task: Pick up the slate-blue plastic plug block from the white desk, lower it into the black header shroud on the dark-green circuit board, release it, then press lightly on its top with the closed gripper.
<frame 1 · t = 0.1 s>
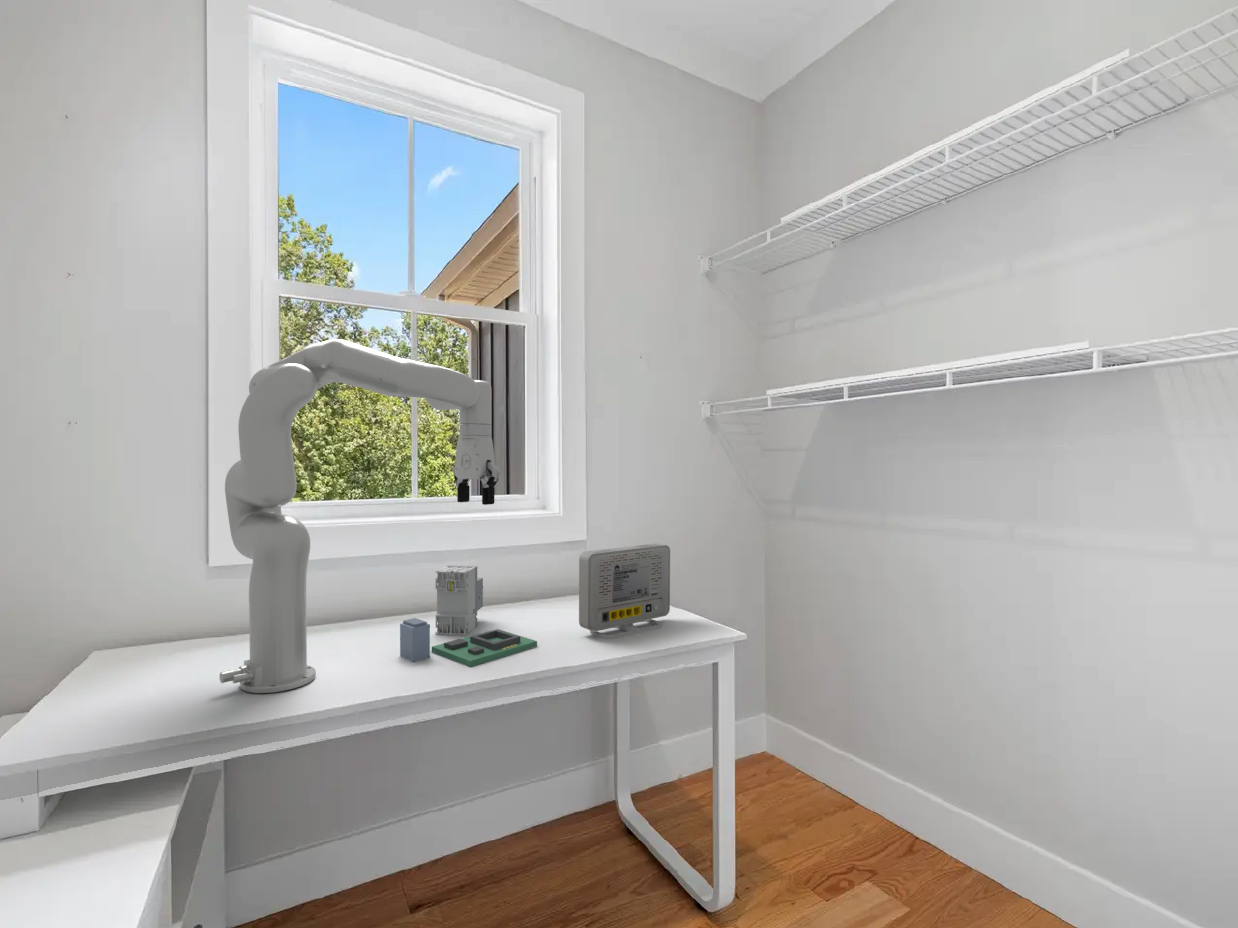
hand: (475, 503, 153), 31 cm above the table, fingers open, 9 cm apart
circuit breaker: (461, 627, 157), on the table
board: (485, 649, 140), on the table
plug: (415, 656, 135), on the table
network device: (626, 629, 156), on the table
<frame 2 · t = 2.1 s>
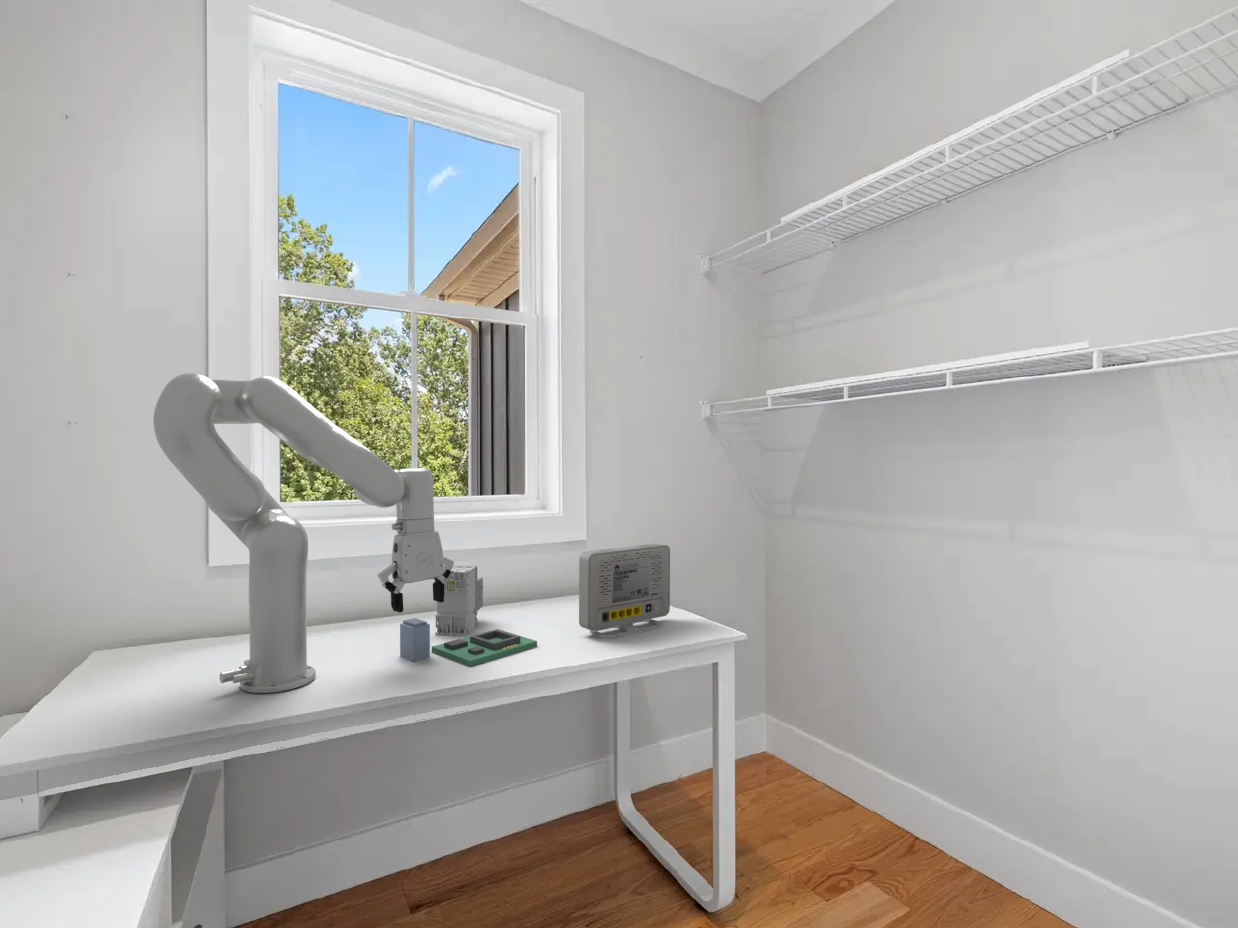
hand: (418, 606, 135), 11 cm above the table, fingers open, 9 cm apart
nothing on the table moved.
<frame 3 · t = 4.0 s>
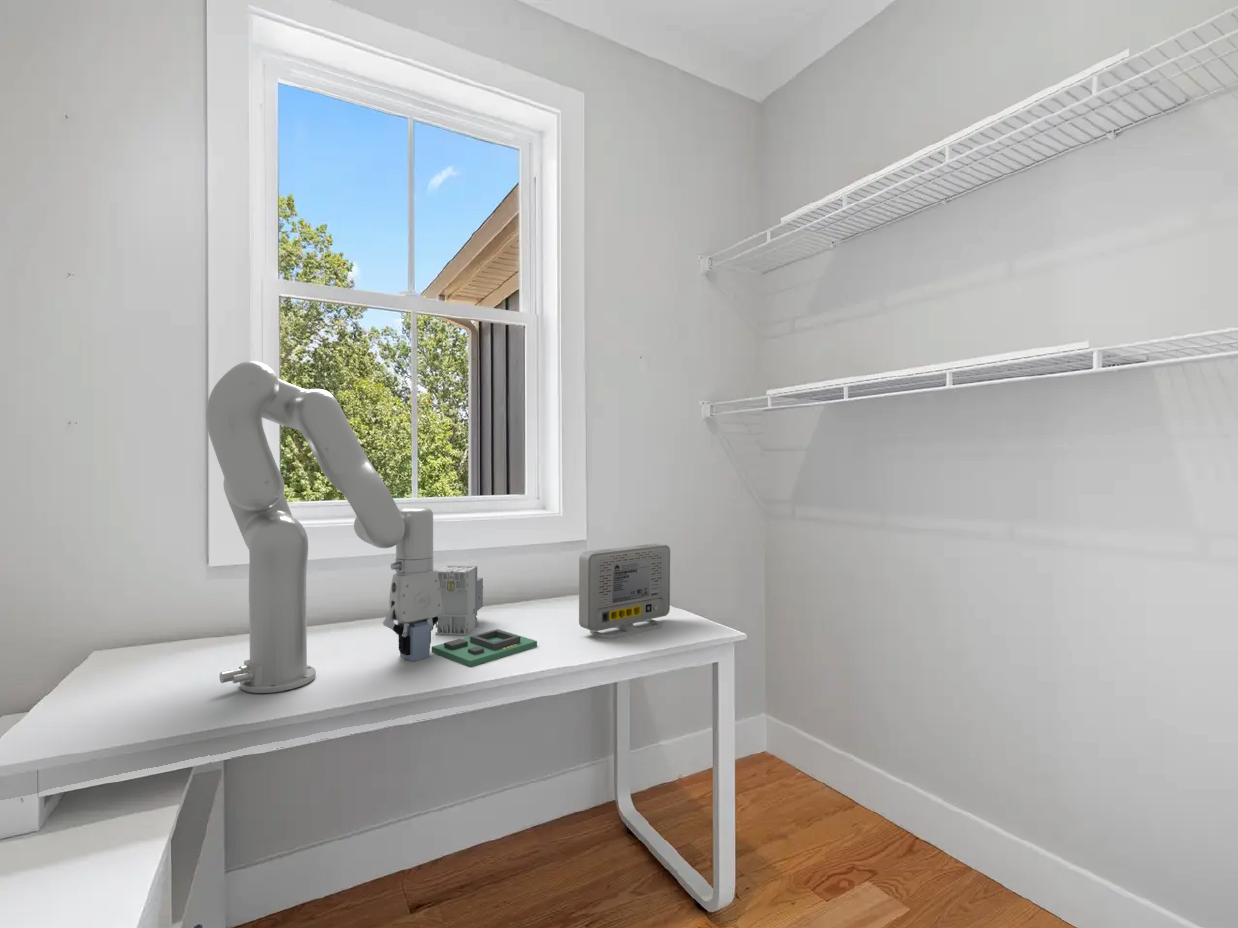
hand: (415, 650, 134), 1 cm above the table, fingers closed on plug, 4 cm apart
plug: (415, 656, 135), on the table, touching gripper
everything else where it was.
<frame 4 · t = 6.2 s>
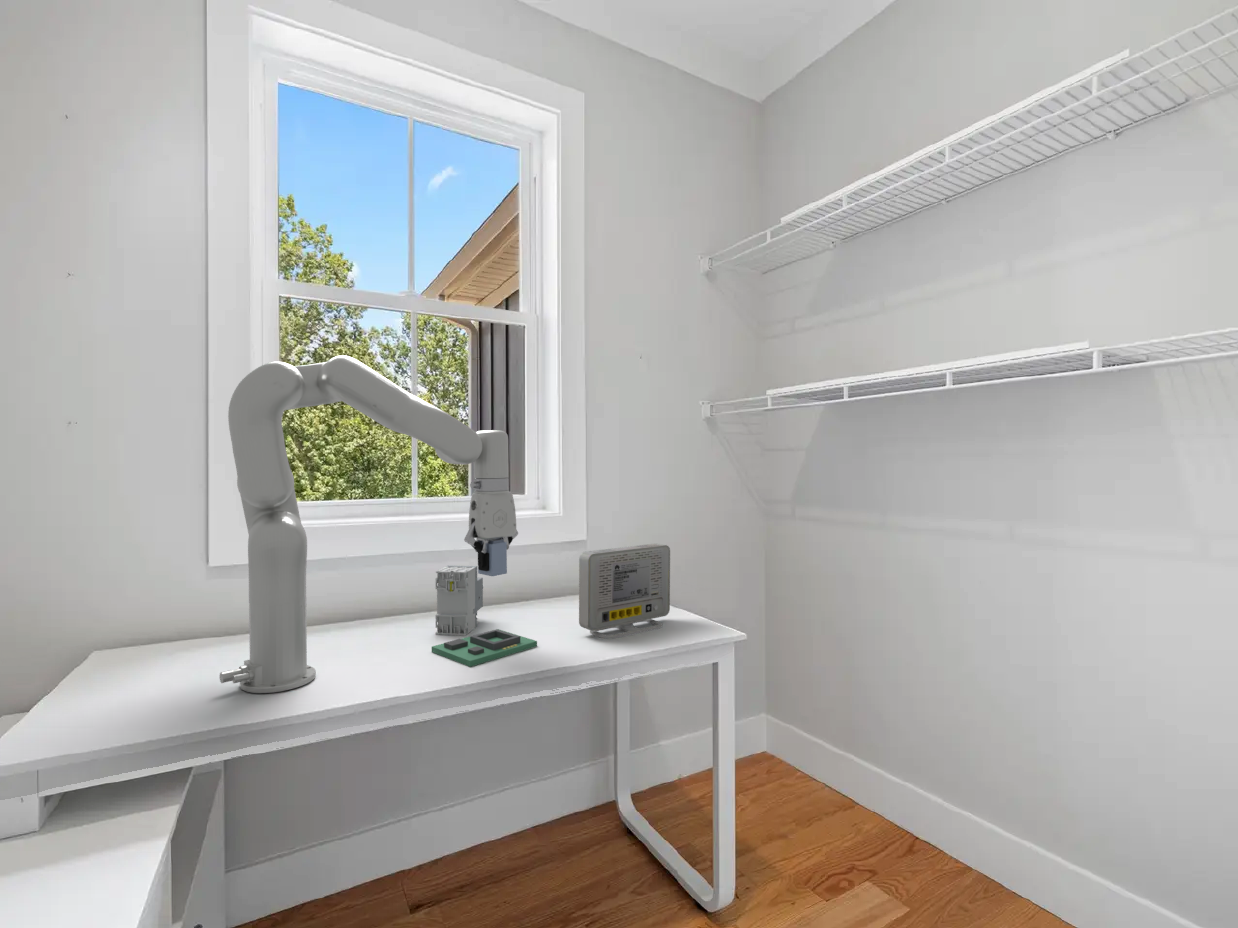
hand: (492, 567, 140), 18 cm above the table, fingers closed on plug, 4 cm apart
plug: (492, 573, 140), point 17 cm above the table, touching gripper
everything else where it was.
when the fingers open (3 cm above the table, at t = 8.3 s): plug stays where it is, resting on board.
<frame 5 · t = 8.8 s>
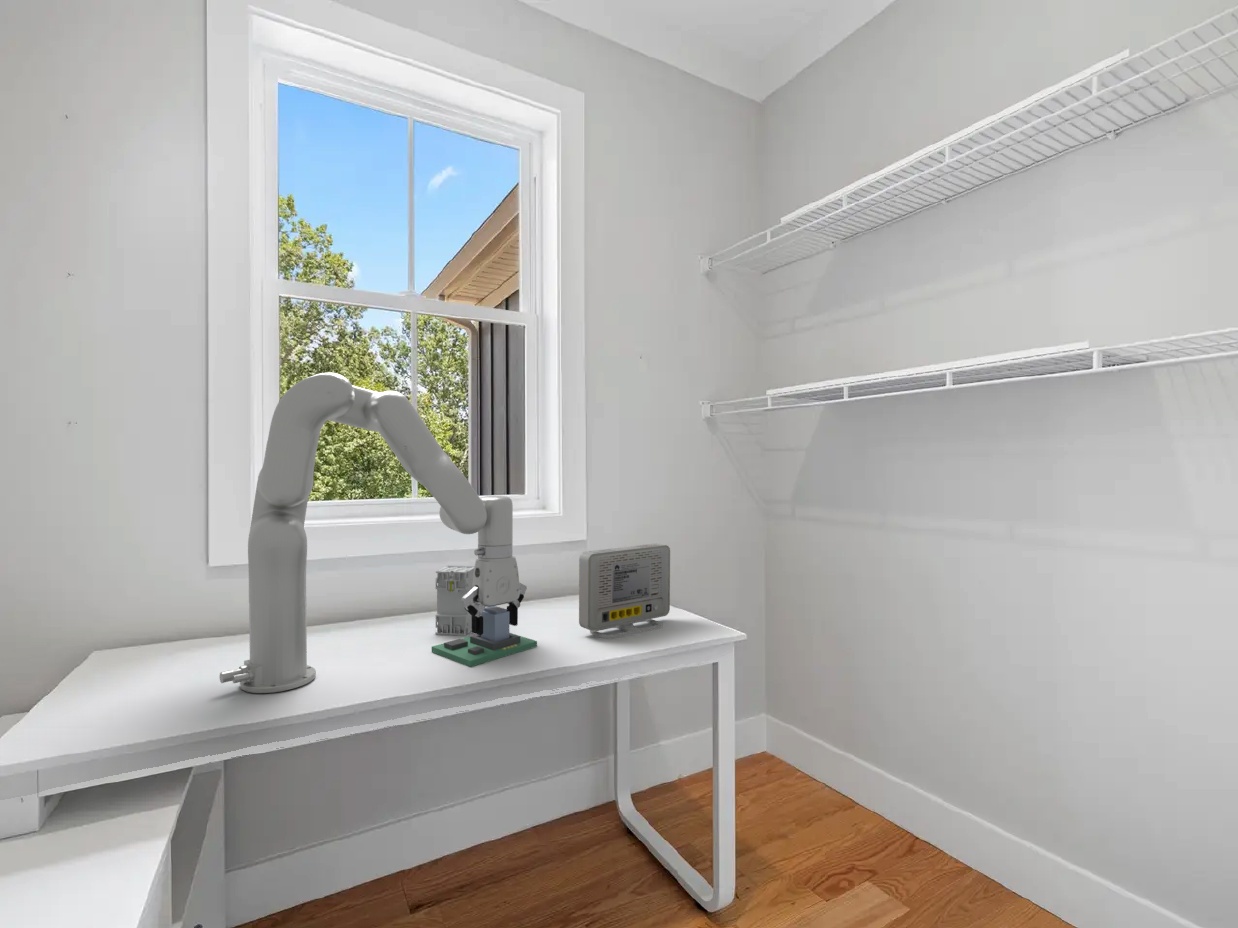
hand: (495, 628, 140), 4 cm above the table, fingers open, 9 cm apart
plug: (495, 642, 141), point 1 cm above the table, touching board
everything else where it was.
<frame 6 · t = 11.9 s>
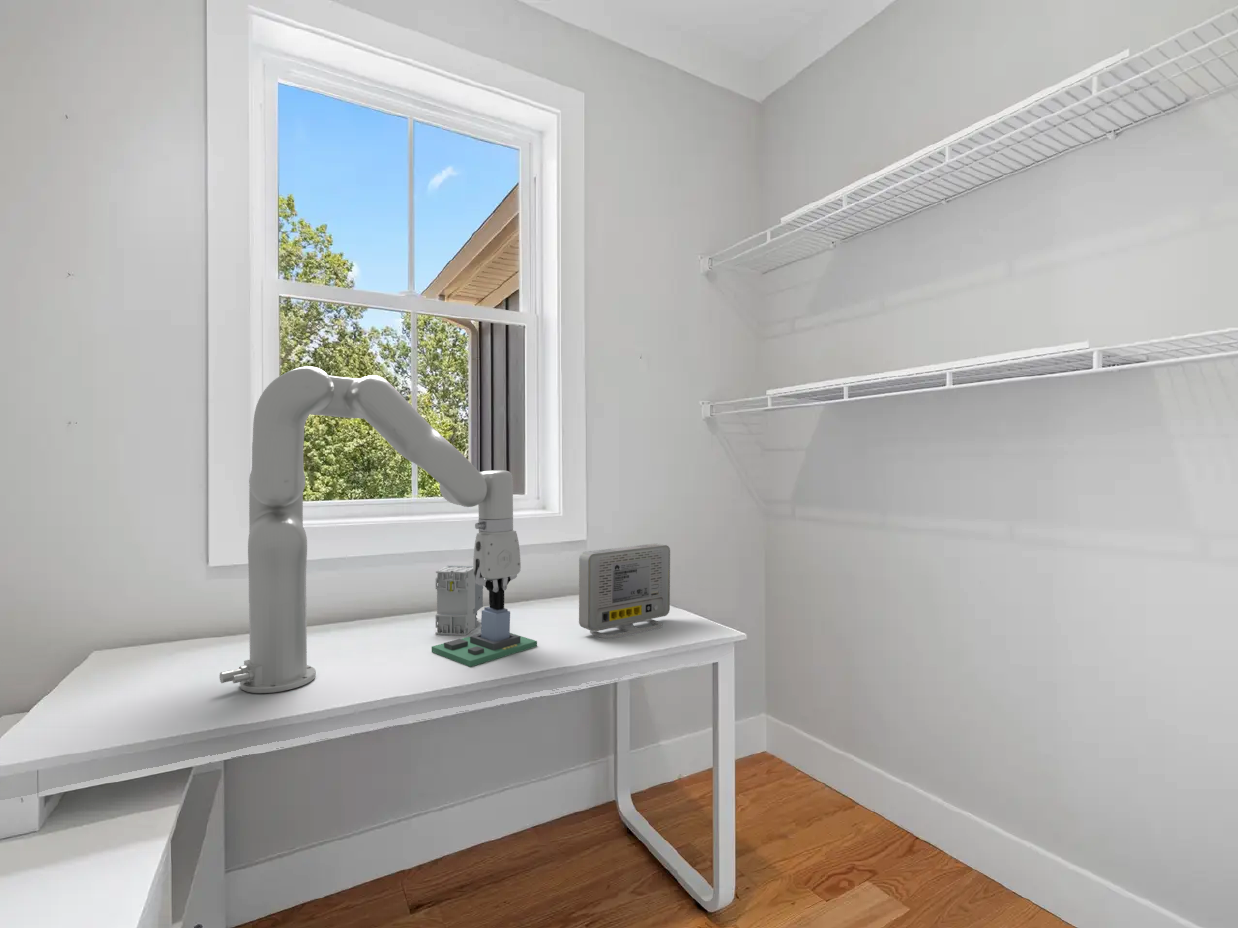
hand: (496, 607, 141), 9 cm above the table, fingers closed
plug: (495, 642, 141), point 1 cm above the table, touching board, gripper
everything else where it was.
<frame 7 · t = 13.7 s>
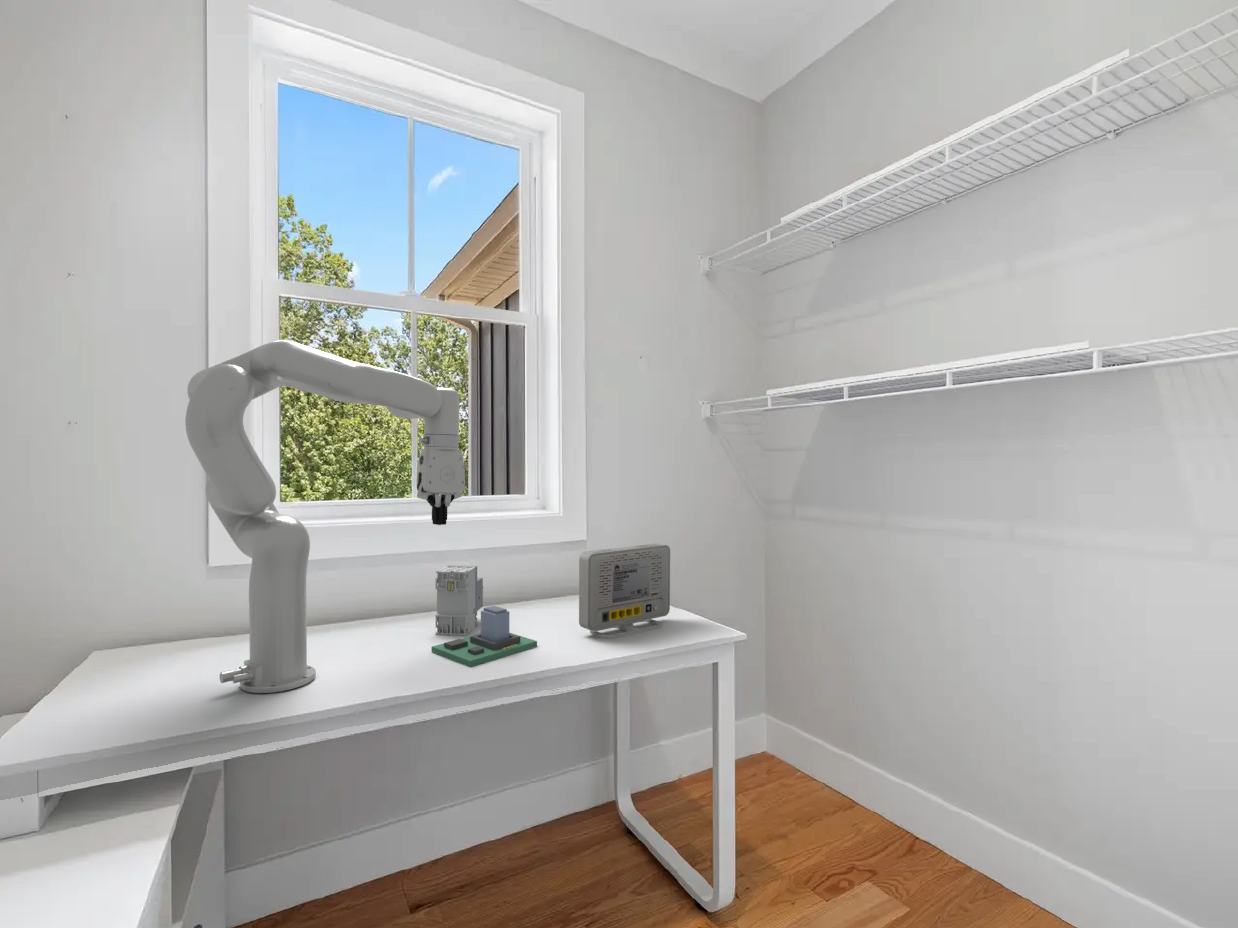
hand: (439, 524, 143), 27 cm above the table, fingers closed
plug: (495, 642, 141), point 1 cm above the table, touching board
everything else where it was.
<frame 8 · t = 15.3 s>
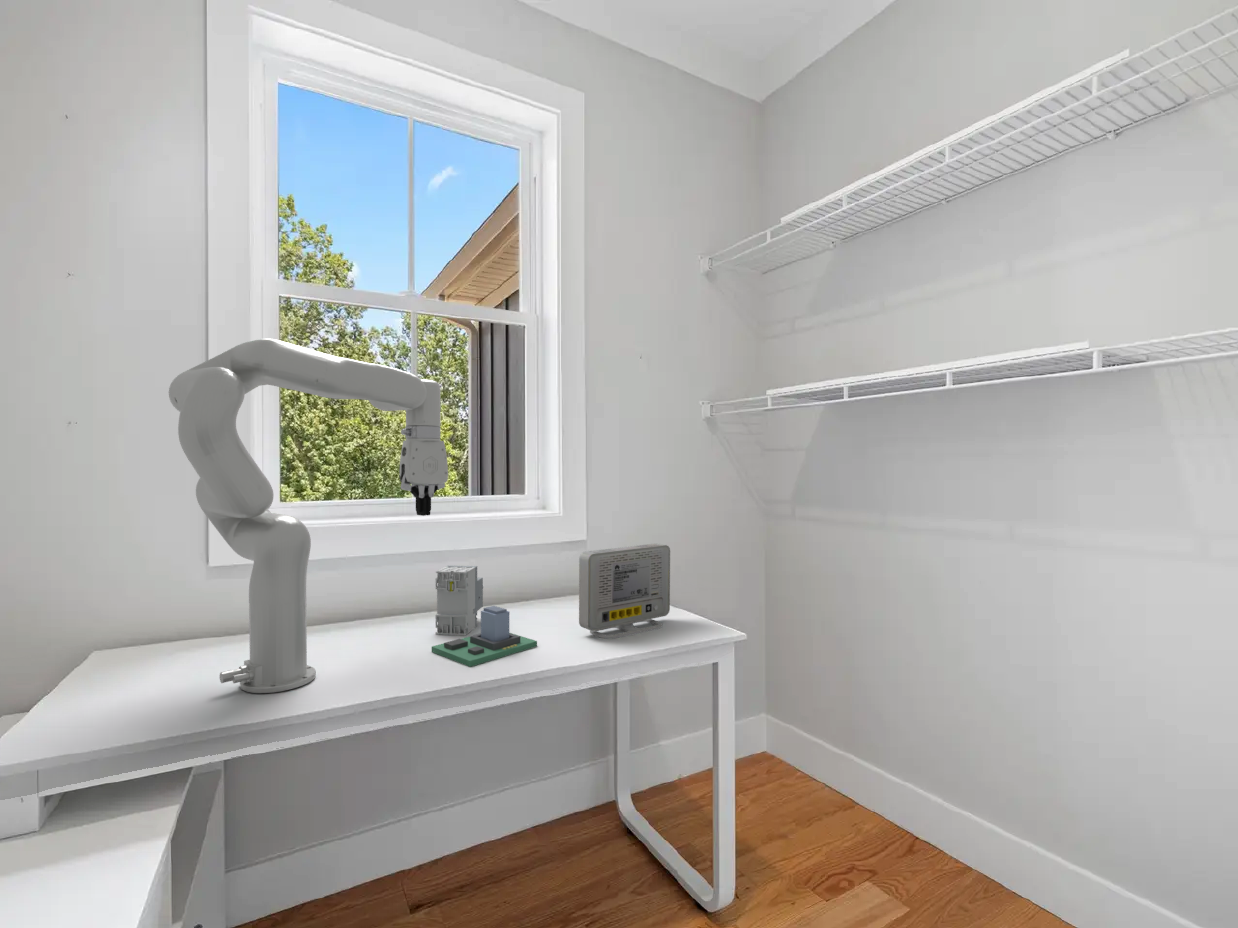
hand: (423, 514, 144), 29 cm above the table, fingers closed
nothing on the table moved.
at the end: plug 0.0 cm from the target spot on the board, point 1.2 cm above the board's base; plug tilted 0°; the gripper is holding nothing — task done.
